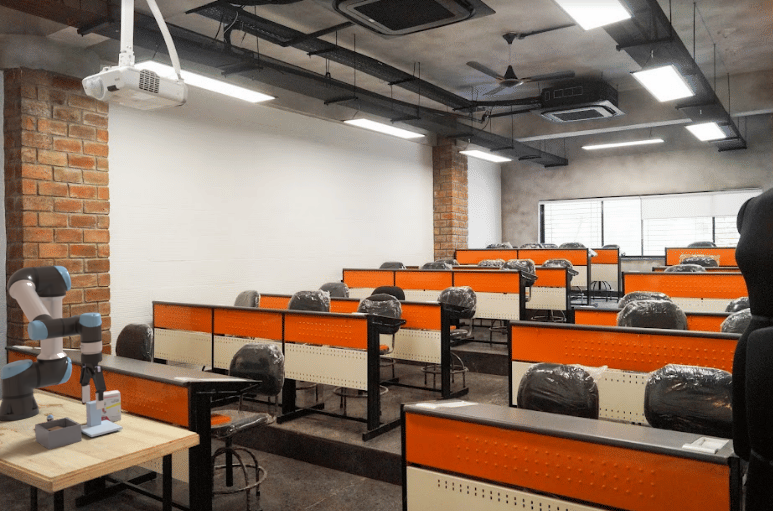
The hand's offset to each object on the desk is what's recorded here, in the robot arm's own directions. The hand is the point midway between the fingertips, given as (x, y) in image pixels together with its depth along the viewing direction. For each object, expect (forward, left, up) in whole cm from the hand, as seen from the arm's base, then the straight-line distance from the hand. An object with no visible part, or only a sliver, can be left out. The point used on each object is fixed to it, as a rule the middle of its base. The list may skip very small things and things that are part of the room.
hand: (93, 405), depth 226 cm
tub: (+5, -15, -10) cm, 18 cm away
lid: (+5, 0, -10) cm, 11 cm away
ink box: (-8, +9, -10) cm, 16 cm away
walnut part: (+2, -15, -9) cm, 17 cm away
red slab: (-15, -11, -10) cm, 21 cm away
